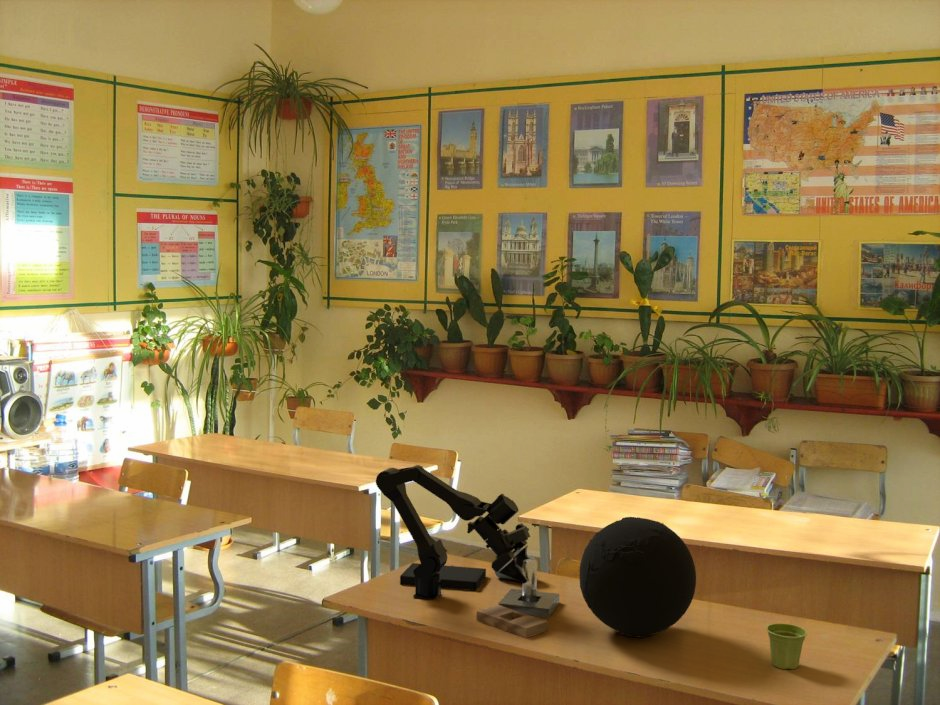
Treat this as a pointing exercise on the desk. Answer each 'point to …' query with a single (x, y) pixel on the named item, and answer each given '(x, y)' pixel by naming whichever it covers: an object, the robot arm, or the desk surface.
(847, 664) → the desk surface
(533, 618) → the wooden block with hole
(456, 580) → the external hard drive
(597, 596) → the sphere
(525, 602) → the block
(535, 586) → the steel axle
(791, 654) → the plant pot
